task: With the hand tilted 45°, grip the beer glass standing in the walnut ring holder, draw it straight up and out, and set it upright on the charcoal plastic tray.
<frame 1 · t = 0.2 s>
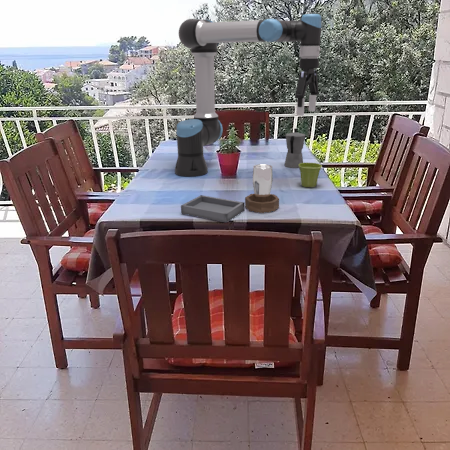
hand: (306, 113, 178), 28 cm above the table, tool pointing down, fingers open, 13 cm apart
plant pot: (308, 186, 179), on the table
tray: (213, 212, 151), on the table
beer glass: (261, 207, 155), resting in ring holder
coffeepot: (293, 166, 208), on the table
ring holder: (261, 207, 155), on the table
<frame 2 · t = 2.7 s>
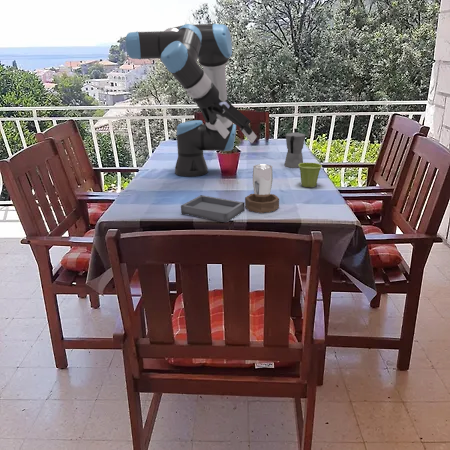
hand: (239, 137, 142), 26 cm above the table, tool tilted 40°, fingers open, 13 cm apart
nothing on the table moved.
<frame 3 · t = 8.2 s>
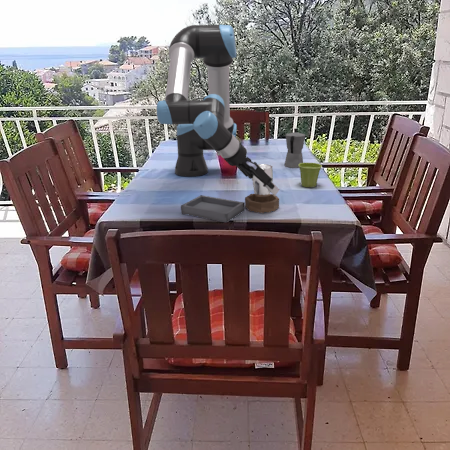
hand: (270, 189, 155), 6 cm above the table, tool tilted 45°, fingers closed on beer glass, 7 cm apart
beer glass: (261, 207, 155), resting in ring holder, touching gripper
everything else where it was.
when the fingers open (8 cm above the table, at t = 14.3 s): beer glass drops 1 cm, resting on tray.
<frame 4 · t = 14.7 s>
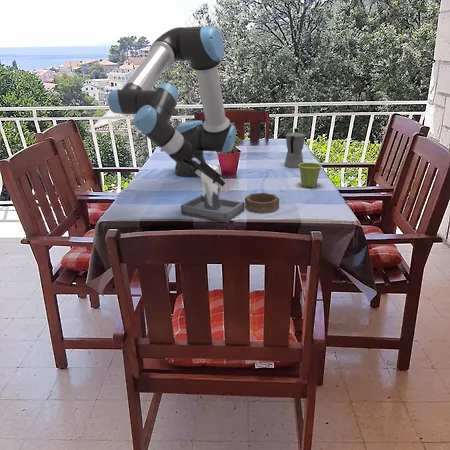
hand: (218, 184, 149), 10 cm above the table, tool tilted 45°, fingers open, 12 cm apart
beer glass: (212, 209, 151), point 1 cm above the table, touching tray
everything else where it was.
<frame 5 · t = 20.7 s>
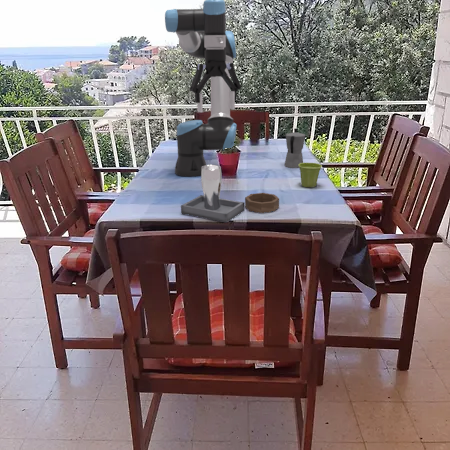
hand: (216, 110, 160), 32 cm above the table, tool pointing down, fingers open, 13 cm apart
nothing on the table moved.
at the end: beer glass inside the target area on the tray (0.6 cm from its centre), point 0.8 cm above the tray's base; beer glass tilted 0°; the gripper is holding nothing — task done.
